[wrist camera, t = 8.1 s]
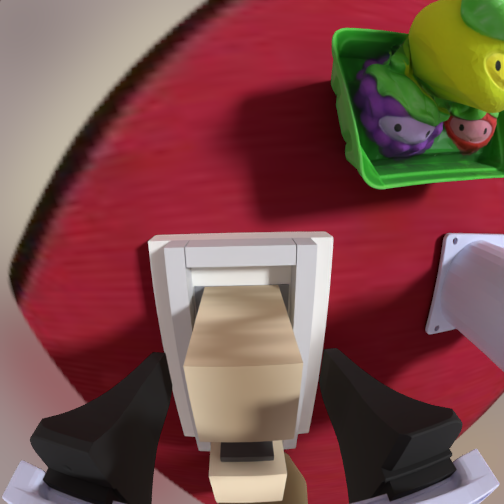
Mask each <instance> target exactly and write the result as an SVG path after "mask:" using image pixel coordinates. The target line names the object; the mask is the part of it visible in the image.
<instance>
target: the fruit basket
mask: <svg viewBox="0 0 504 504" xmlns="http://www.w3.org/2000/svg"><path fill="white" fill-rule="evenodd" d="M332 55H333V68H332V76H331V86H332V89H333V91H334V92H335V95H337V98H336V109H337V114H338V118H339V123H340V129H341V133H342V136H343V138H344V140H345V142H346V145H345V157H346V159H347V161H348V162H350V163H351V164H352V165H353V166H354V167H355V168H356V169H357V170H358V172H359V174H360V175H361V177H362V178H363V180H364V181H365V182H366V183H367V184H368V185H369V186H371V187H372V188H375V189H389V188H396V187H403V186H411V185H420V184H427V183H437V182H449V181H460V180H473V179H485V178H503V177H504V0H439V1H437V2H434V3H431V4H430V5H428V6H426V7H425V8H424V9H422V10H421V11H420V12H419V13H418V15H417V16H416V17H415V19H414V21H413V23H412V25H411V28H410V31H409V34H405V33H398V32H390V31H383V30H372V29H360V28H343V29H339V30H337V31H336V32H335V33H334V35H333V37H332Z"/></svg>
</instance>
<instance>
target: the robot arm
mask: <svg viewBox="0 0 504 504" xmlns="http://www.w3.org/2000/svg"><path fill="white" fill-rule="evenodd" d="M453 239H455V240H454V242H453ZM435 327H436V328H435ZM453 329H457V330H458V331H460V332H461V333H462V334H463V335H464V336H465V337H466V338H467V339H469V340H470V341H471V342H472V343H473V344H474V345H475V346H476V347H478V348H479V349H480V350H481V351H482V352H483V353H484V354H485V355H486V356H487V357H488V358H490V359H491V360H492V361H493V362H494V363H495V364H496V365H497V366H498V367H499V368H500V369H501V370H502V371H503V372H504V234H475V233H447V234H446V235H445V236H444V238H443V244H442V251H441V258H440V264H439V270H438V275H437V280H436V286H435V290H434V295H433V300H432V304H431V308H430V312H429V316H428V320H427V324H426V328H425V331H426V332H427V333H428V334H435V333H440V332H444V331H449V330H453ZM319 384H320V389H321V393H322V398H323V401H324V404H325V407H326V409H327V412H328V415H329V417H330V420H331V423H332V425H333V428H334V431H335V433H336V436H337V439H338V442H339V447H340V451H341V455H342V460H343V465H344V470H345V476H346V482H347V488H348V496H349V504H479V503H481V502H482V501H483V500H484V499H485V498H486V497H487V496H488V495H490V494H491V493H492V492H493V491H494V490H495V489H496V488H497V487H498V486H499V482H498V480H497V479H496V477H495V476H494V474H493V473H492V471H491V469H490V468H489V466H488V465H487V463H486V462H485V460H484V459H483V457H482V456H481V454H480V453H479V451H478V450H477V449H474V450H472V451H471V452H469V453H467V454H465V455H463V456H461V457H459V458H457V459H456V460H455V461H454V462H453V463H452V461H451V459H450V457H451V456H452V453H451V451H450V449H449V448H450V447H451V446H452V444H453V443H454V441H455V440H456V438H457V437H458V435H459V433H460V432H461V429H462V422H461V420H460V419H459V418H458V416H457V415H456V413H455V412H454V411H453V410H452V409H450V408H445V407H439V406H434V405H431V404H427V403H424V402H421V401H418V400H415V399H412V398H410V397H408V396H405V395H403V394H401V393H399V392H396V391H395V390H393V389H391V388H389V387H387V386H385V385H384V384H382V383H381V382H379V381H378V380H376V379H375V378H373V377H372V376H370V375H369V374H368V373H366V372H365V371H364V370H362V369H361V368H360V367H359V366H357V365H356V364H355V363H354V362H353V361H351V360H350V359H349V358H348V357H347V356H345V355H344V354H343V353H342V352H341V351H340V350H338V349H337V348H332V349H324V353H323V360H322V367H321V373H320V380H319ZM172 386H173V385H172V381H171V376H170V372H169V367H168V362H167V357H166V353H159V352H153V353H152V354H151V355H149V356H148V357H147V358H146V359H145V360H144V361H143V362H142V363H141V364H140V365H139V366H138V367H137V368H136V369H135V370H134V371H132V372H131V373H130V374H129V375H128V376H127V377H126V378H124V379H123V380H122V381H121V382H119V383H118V384H117V385H116V386H114V387H113V388H112V389H110V390H109V391H107V392H106V393H104V394H103V395H101V396H100V397H98V398H96V399H94V400H92V401H91V402H89V403H87V404H85V405H83V406H81V407H78V408H76V409H74V410H71V411H69V412H65V413H63V414H59V415H56V416H52V417H48V418H44V419H42V420H41V422H40V423H39V425H38V426H37V428H36V430H35V431H34V433H33V435H32V436H31V438H30V442H31V445H32V447H33V449H34V450H35V452H36V453H37V454H38V455H39V457H40V458H41V459H42V460H43V462H44V463H45V464H46V465H47V466H48V470H47V472H45V471H43V470H42V469H40V468H38V467H36V466H34V465H32V464H29V463H28V462H26V461H23V460H21V461H20V463H19V465H18V467H17V469H16V471H15V472H14V474H13V476H12V478H11V480H10V482H9V484H8V486H7V488H6V490H5V492H4V494H3V496H2V498H3V499H4V500H5V501H6V502H7V503H8V504H151V501H152V485H153V484H152V483H153V474H154V465H155V458H156V451H157V446H158V441H159V438H160V434H161V431H162V428H163V424H164V421H165V418H166V415H167V411H168V408H169V404H170V399H171V393H172Z"/></svg>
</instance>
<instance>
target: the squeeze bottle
mask: <svg viewBox="0 0 504 504" xmlns="http://www.w3.org/2000/svg"><path fill="white" fill-rule="evenodd" d="M284 456H285V463H286V469H287V478H286V483H285V489H284V494H283V499H282V501H272V502H253V503H219V504H308V501H307V485H306V482H305V479H304V477H303V476H302V474H301V473H300V471H299V470H298V469H297V467H296V466H295V464H294V463H293V461H292V460H291V458H290V457H289V455H288V454H286V453H285V452H284Z"/></svg>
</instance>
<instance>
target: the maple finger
mask: <svg viewBox="0 0 504 504" xmlns="http://www.w3.org/2000/svg"><path fill="white" fill-rule="evenodd" d="M183 367H184V372H185V378H186V383H187V388H188V393H189V398H190V402H191V407H192V411H193V416H194V420H195V425H196V429H197V433H198V437H199V441H200V442H262V441H277V440H289V439H294V435H295V428H296V421H297V413H298V405H299V397H300V389H301V380H302V370H303V361H302V357H301V354H300V351H299V348H298V345H297V342H296V338H295V335H294V332H293V329H292V326H291V323H290V320H289V317H288V313H287V310H286V307H285V304H284V301H283V298H282V295H281V292H280V289H279V286H278V285H257V286H218V287H205V288H204V292H203V295H202V299H201V302H200V306H199V310H198V313H197V317H196V320H195V324H194V328H193V331H192V335H191V339H190V343H189V347H188V350H187V354H186V358H185V362H184V366H183Z"/></svg>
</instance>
